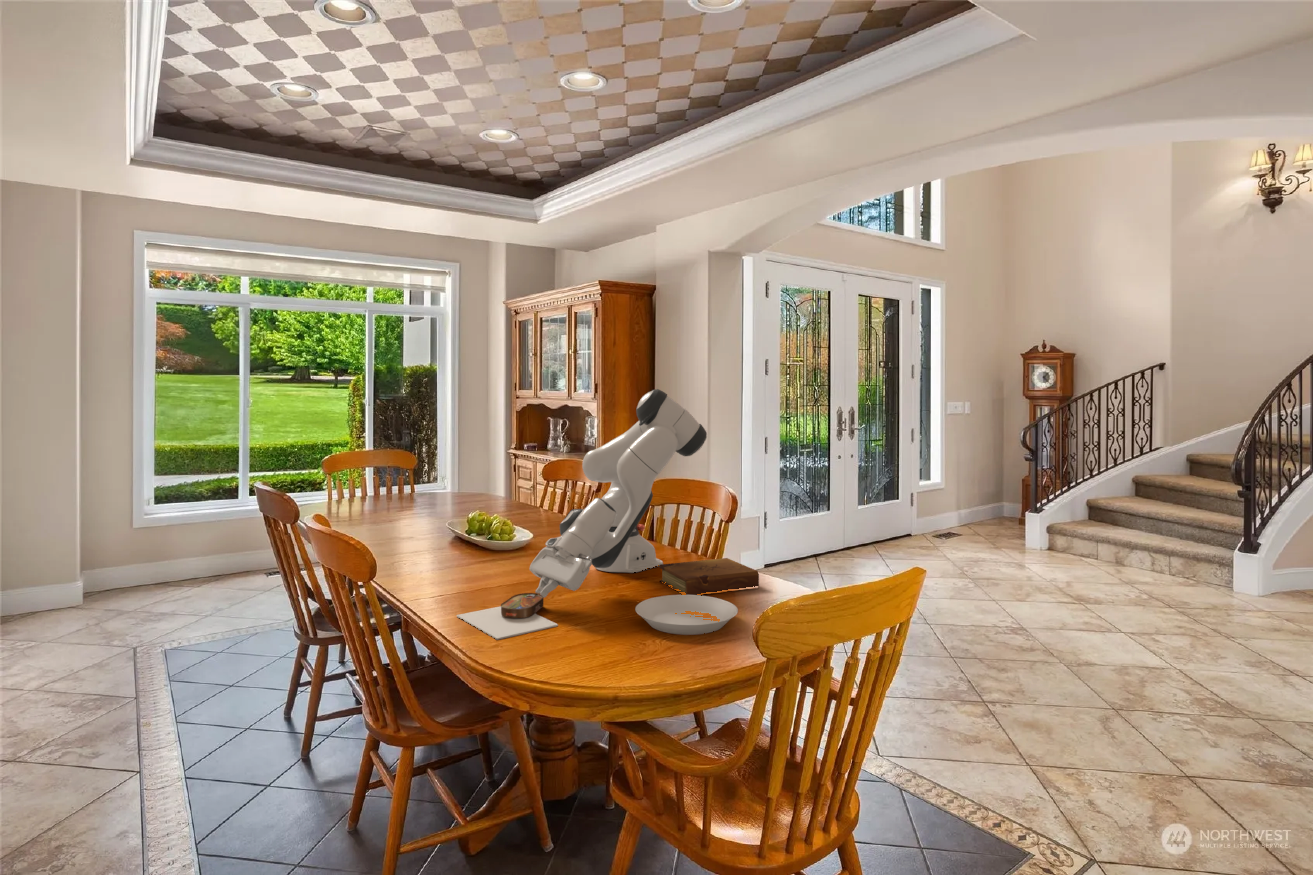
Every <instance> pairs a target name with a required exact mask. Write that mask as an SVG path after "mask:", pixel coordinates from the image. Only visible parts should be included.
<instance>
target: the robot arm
mask: <svg viewBox="0 0 1313 875" xmlns="http://www.w3.org/2000/svg"><path fill="white" fill-rule="evenodd" d="M635 412H636V417H637V419H638V421H636V423H634V424H633V425H632V426H631V427H630V428H629V429H628V430H626V431H625V432H624V433H622V434H620V435H618V436H617V437H615V438H613V439H612V440H609V441H608V442H606V443H605V444H603V445H600V447H597V448H595V449H592V450H589V451H588V452H586V454H585V455H584V456H583V459H582V464H581V466H582V472H583V474H584V476H585V477H586V479H588V480H589V481H591V482H596V483H610V487H609V488H608V490H607V492H606V493H605V494H604V495H603V496H602V497H601V498H600V497H595V498H594V499H593V500H592V501H590V503H588V504H587V505H586V507H585V508H584V509H583V508H574V509H573V508H572V509H571V510H569V512H568V513H567V515H566V516H565V517H564V519H563V520H562V521H561V522H560V524H559V535H560V536H556V537H551V538H549V539H548V540H546V542H545V547H543V548H542V549H541V550H540V551H539V552H538V554H537V555H536V556H535V558H534V559H533V560H532V562H531V563H530V565H529V571H530V572H531V573H532V574H533V575H534V576H535V577H537V578H539V579H540V580H539V584H538V587H537V588H536V589H535V592H534V593H536V594H538V595H539V596H542V597H544V598H547V596H548V595H549V593H551V592H552V591H554V590H555V589H556V588H557V587H558V586H560V587H564V588H565V589H567V590H571V591H573V592H575V591H577V590H579V589H580V587H581V586H582V584H583V582H584V581H585V579H586V578H587V576H588V574H589V572H590V567H591V566H593V567H594V568H595V569H597V570H598V571H603V572H606V573H607V572H609V573H627V574H628V573H629V574H633V573H634V572H636V573H639V572H643V571H646V570H648V569H647V568H650V569H652V568H653V567H654V568H656V567H655V566H657V567H659V566H658V565H661V564H664V562H663V560H661V559H659V558H657V554H656V548H655V547H654V545H653V544H652V543H651V542H649V541H648V540H647V539H646V538H644V537H643V536H642V535H641V534H640V532H639V531H641V532H644V531H645V529H646V526H645V524H641V523H640V521H641V520H642V518H643V517H644V515H645V513H646V512H647V510H648V508H649V506H650V504H651V502H652V500H653V496H654V494H653V491H652V488H653V484H654V482H655V480H656V479H657V477H658V476H659V475H660V473H661V472H662V471H663V469H665V467H666V466H667V465H668V463H669V462H670V461H671V459H672V458H673V456H674V455H675V453H677V454H679V455H681V456H682V457H691V456H693V455H694V454H696V453H698V451H700V450H701V448H702V447H703V446H704V444H705V442H706V440H707V437H708V436H707V435H708V434H707V430H706V428H704V426H703V425H702V424H701V423H699V422H698V421H697V420H696V418H695V417H694V416H693V415H692V414H691V413H690V412H689V411H688V410H687V409H686V408H684V407H683V406H682V405H681V404H679V403H678V402H677V401H676V400H674V399H673V398H671V397H670V396H669V395H668V394H667V393H666V392H664V391H663V390H661V389H658V388H657V389H652V390H651V391H648V392H647V393H645V394H644V395H642V397H641V398H640V400H639V401H638V403H637V406H636V410H635ZM654 568H653V569H654ZM645 569H646V570H645ZM642 570H643V571H642ZM634 574H635V573H634Z"/></svg>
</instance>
